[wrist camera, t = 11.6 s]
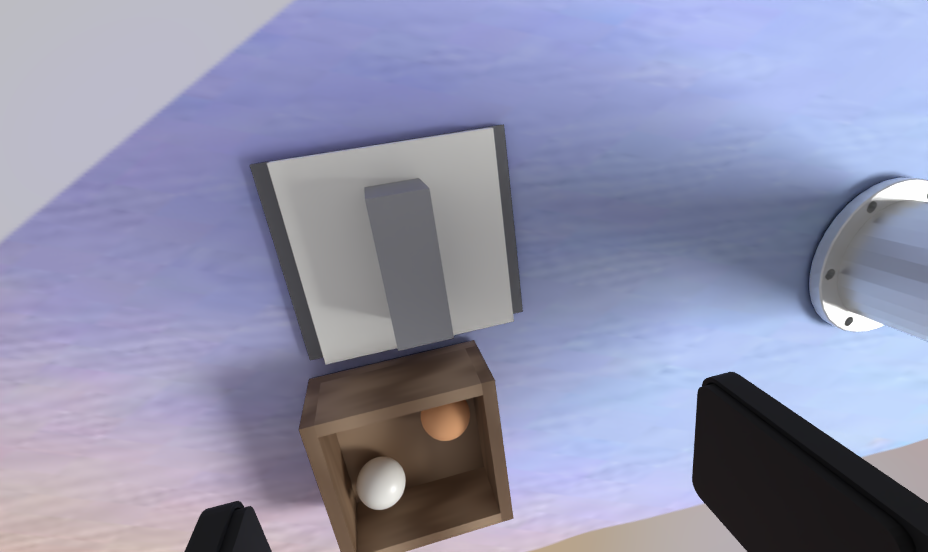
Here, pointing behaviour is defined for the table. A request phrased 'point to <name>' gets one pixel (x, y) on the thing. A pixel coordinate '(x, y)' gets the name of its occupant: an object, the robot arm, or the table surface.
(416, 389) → the box
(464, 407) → the orange ball
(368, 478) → the off-white ball
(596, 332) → the table surface
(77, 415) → the table surface
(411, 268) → the lid
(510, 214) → the mat
